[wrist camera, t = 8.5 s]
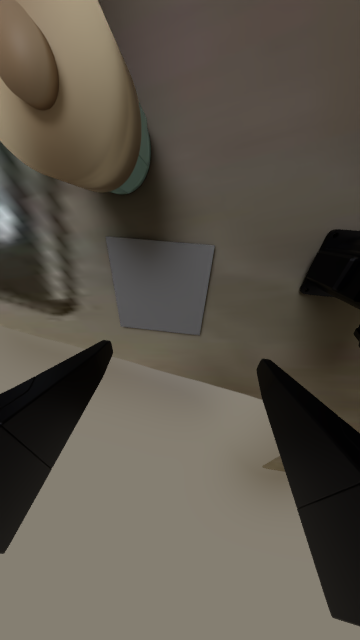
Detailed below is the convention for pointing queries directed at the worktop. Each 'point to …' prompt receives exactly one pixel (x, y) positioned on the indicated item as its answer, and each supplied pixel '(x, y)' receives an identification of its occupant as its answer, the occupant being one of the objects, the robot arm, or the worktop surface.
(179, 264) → the mat
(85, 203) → the worktop surface
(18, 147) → the lid
